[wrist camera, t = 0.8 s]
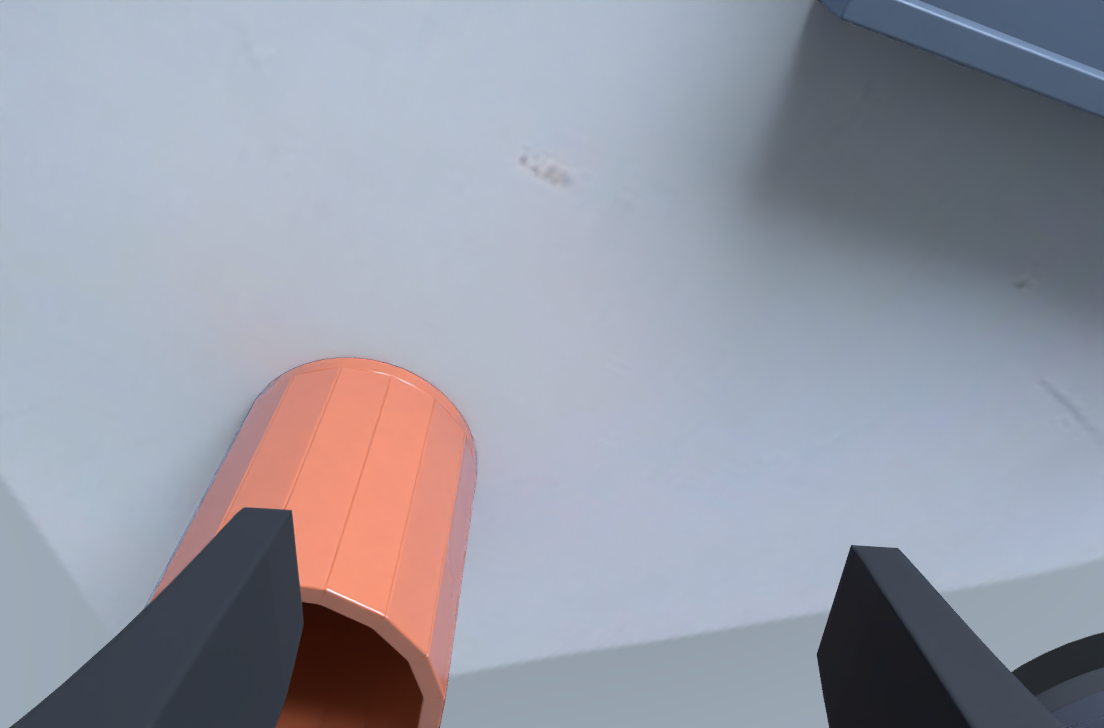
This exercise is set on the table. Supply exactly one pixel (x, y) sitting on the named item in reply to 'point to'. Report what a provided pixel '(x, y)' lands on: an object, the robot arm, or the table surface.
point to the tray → (1001, 40)
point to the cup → (356, 534)
